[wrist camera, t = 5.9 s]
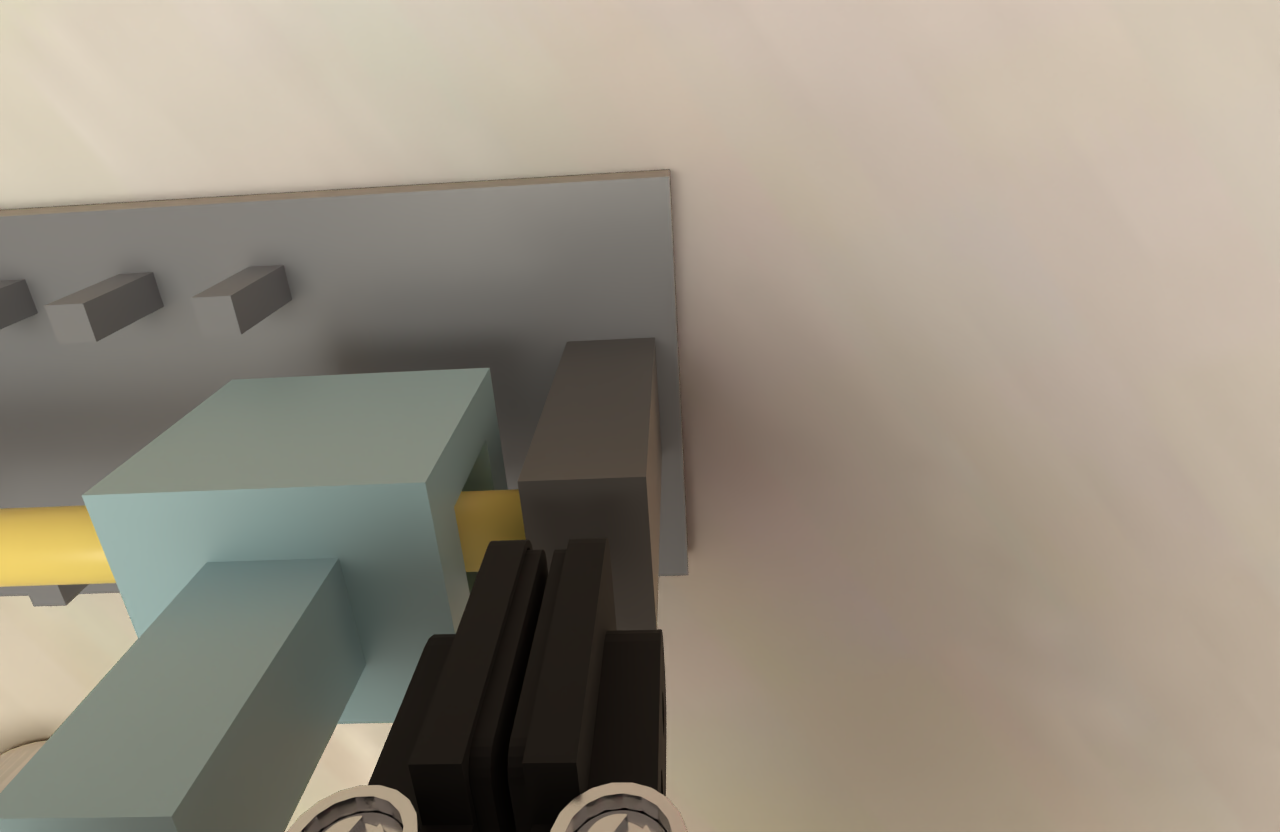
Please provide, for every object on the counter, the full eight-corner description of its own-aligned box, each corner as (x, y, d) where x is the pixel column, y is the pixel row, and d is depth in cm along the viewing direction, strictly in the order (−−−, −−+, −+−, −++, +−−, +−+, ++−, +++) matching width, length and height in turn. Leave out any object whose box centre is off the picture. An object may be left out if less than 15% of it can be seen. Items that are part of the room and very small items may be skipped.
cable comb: (669, 169, 18) (666, 262, 10) (687, 553, 22) (694, 819, 15) (-345, 231, 19) (-992, 352, 12) (-151, 580, 24) (-539, 835, 16)
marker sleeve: (489, 367, 15) (291, 720, 7) (518, 563, 17) (384, 1015, 9) (232, 379, 16) (-226, 731, 8) (287, 570, 18) (-37, 1015, 10)
